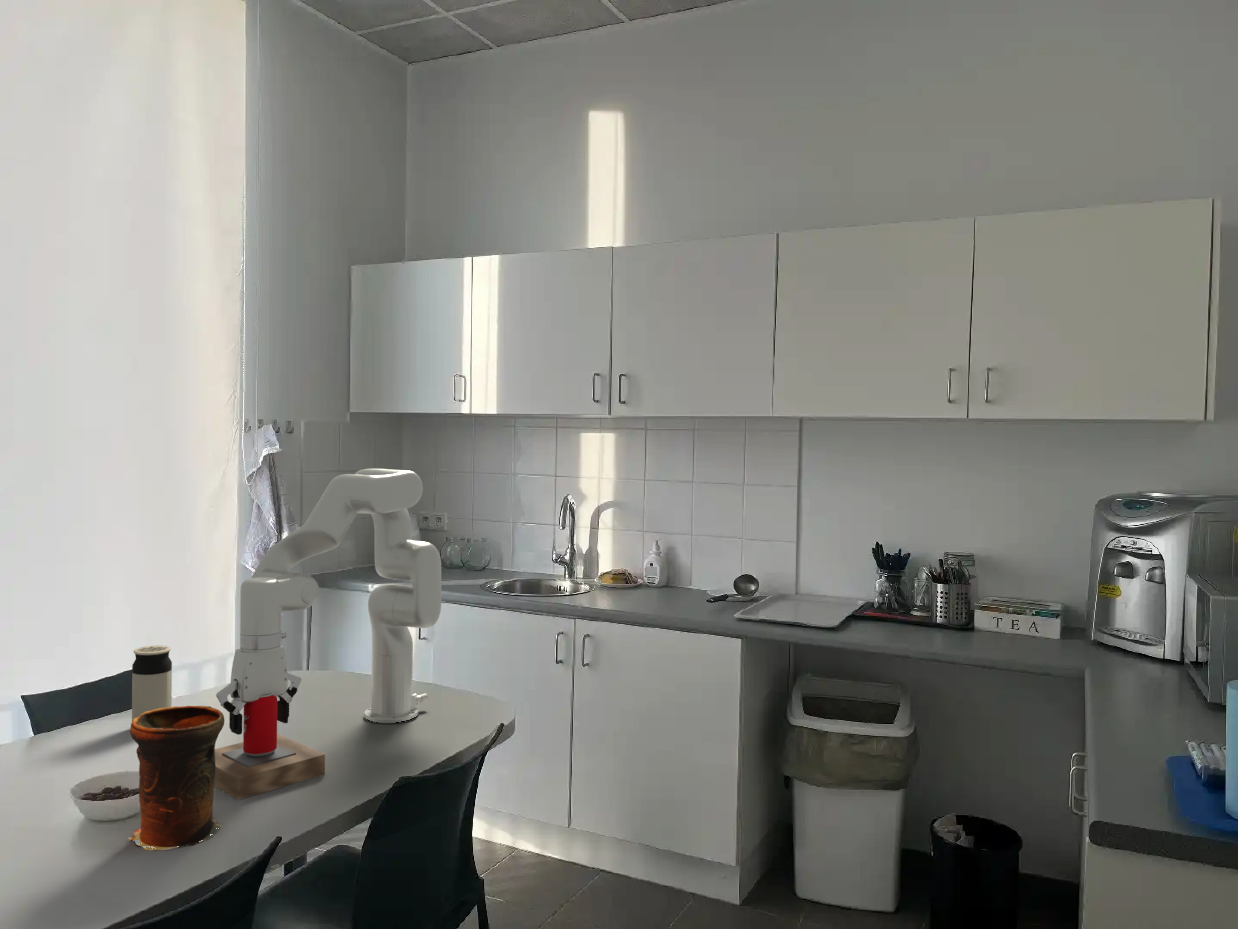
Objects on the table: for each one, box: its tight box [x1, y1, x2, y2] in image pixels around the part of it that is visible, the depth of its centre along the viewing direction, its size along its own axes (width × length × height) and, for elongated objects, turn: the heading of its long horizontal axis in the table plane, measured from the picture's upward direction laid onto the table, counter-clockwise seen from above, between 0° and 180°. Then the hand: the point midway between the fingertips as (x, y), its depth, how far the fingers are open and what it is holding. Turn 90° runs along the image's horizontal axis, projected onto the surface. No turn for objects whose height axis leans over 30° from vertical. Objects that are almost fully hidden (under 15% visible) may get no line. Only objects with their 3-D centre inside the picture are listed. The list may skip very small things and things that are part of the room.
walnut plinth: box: [214, 733, 326, 801], centre depth 187 cm, size 18×18×4 cm
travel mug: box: [131, 645, 173, 722], centre depth 213 cm, size 8×8×18 cm
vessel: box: [127, 705, 225, 852], centre depth 160 cm, size 14×14×20 cm
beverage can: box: [242, 693, 278, 756], centre depth 187 cm, size 6×6×12 cm
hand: (259, 727), depth 187 cm, fingers open, 9 cm apart
